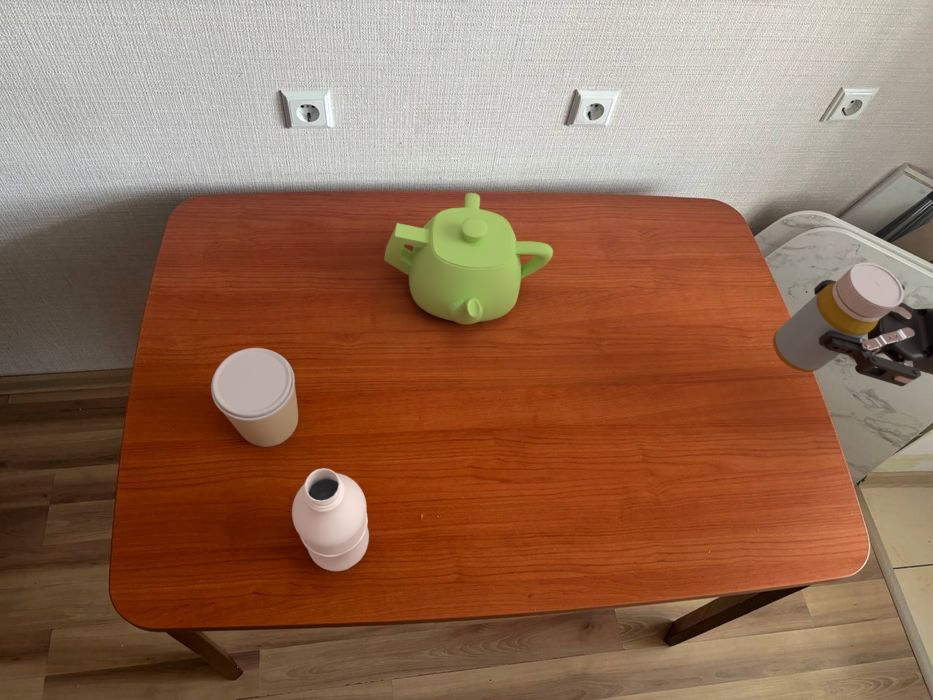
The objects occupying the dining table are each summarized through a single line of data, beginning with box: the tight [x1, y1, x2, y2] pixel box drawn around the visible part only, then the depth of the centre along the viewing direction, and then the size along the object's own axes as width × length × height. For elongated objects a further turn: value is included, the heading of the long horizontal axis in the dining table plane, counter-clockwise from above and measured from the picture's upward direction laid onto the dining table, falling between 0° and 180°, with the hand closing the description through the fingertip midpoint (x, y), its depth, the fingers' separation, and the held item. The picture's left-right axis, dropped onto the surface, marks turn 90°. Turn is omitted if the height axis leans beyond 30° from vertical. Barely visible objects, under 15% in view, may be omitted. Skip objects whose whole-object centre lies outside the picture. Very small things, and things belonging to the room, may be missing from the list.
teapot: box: [383, 192, 554, 326], centre depth 87 cm, size 19×20×14 cm
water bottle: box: [291, 467, 370, 572], centre depth 62 cm, size 7×7×25 cm
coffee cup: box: [210, 347, 299, 448], centre depth 74 cm, size 9×9×12 cm
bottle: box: [772, 262, 905, 373], centre depth 72 cm, size 7×7×15 cm
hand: (820, 311), depth 71 cm, fingers closed on bottle, 7 cm apart
